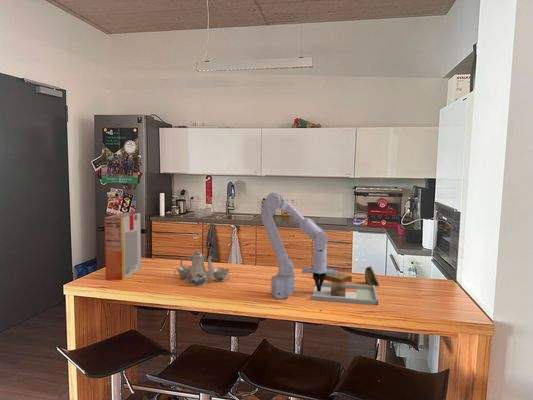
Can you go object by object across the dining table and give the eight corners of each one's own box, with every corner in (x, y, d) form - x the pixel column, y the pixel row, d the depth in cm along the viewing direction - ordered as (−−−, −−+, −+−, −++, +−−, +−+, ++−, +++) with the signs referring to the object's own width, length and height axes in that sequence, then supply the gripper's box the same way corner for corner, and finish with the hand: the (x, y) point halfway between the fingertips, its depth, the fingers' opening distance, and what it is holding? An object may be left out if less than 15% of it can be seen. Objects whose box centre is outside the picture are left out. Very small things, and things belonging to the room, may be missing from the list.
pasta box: (126, 267, 205) (125, 212, 203) (141, 267, 205) (140, 212, 202) (105, 279, 182) (104, 217, 180) (122, 280, 182) (121, 217, 180)
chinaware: (232, 281, 187) (232, 247, 188) (225, 288, 171) (226, 251, 171) (176, 279, 190) (177, 246, 190) (165, 285, 173) (166, 249, 174)
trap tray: (310, 303, 152) (311, 294, 152) (314, 288, 172) (315, 281, 171) (378, 308, 147) (378, 299, 147) (374, 293, 166) (374, 285, 166)
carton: (341, 287, 175) (341, 278, 174) (314, 280, 187) (314, 271, 186) (351, 284, 180) (352, 275, 180) (325, 276, 192) (325, 268, 192)
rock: (360, 276, 184) (356, 278, 175) (371, 263, 183) (368, 265, 173) (377, 292, 180) (374, 295, 171) (389, 279, 179) (387, 282, 170)
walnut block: (330, 295, 157) (330, 286, 157) (331, 291, 163) (331, 282, 163) (345, 296, 156) (345, 287, 156) (345, 292, 162) (345, 283, 162)
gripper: (301, 260, 158) (300, 292, 159) (336, 262, 155) (336, 295, 156) (303, 256, 165) (302, 287, 166) (337, 258, 162) (336, 289, 163)
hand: (319, 290), depth 161 cm, fingers closed
